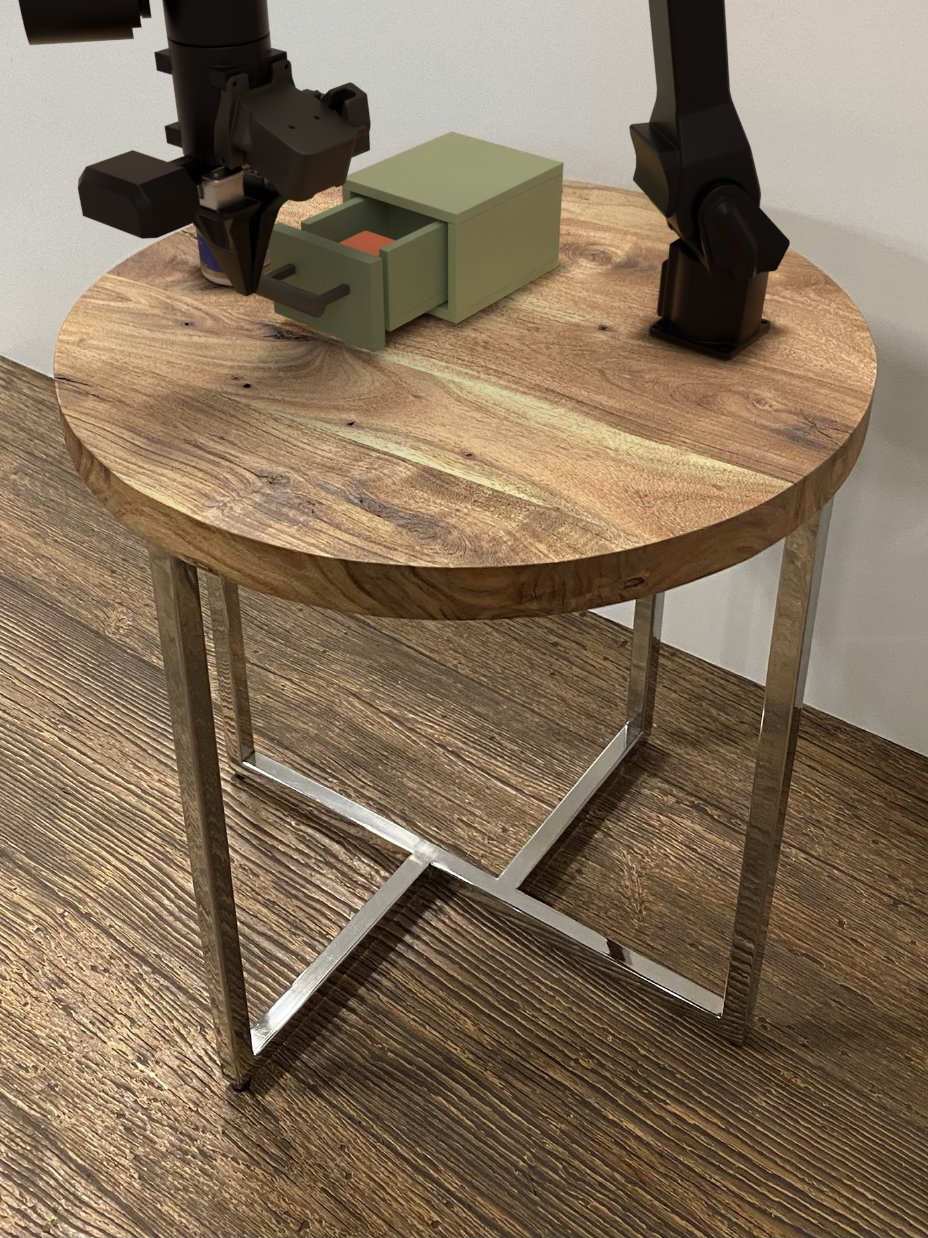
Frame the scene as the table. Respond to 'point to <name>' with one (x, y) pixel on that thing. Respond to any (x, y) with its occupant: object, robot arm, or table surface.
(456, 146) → the cabinet
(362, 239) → the block
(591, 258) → the table surface
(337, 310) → the drawer
